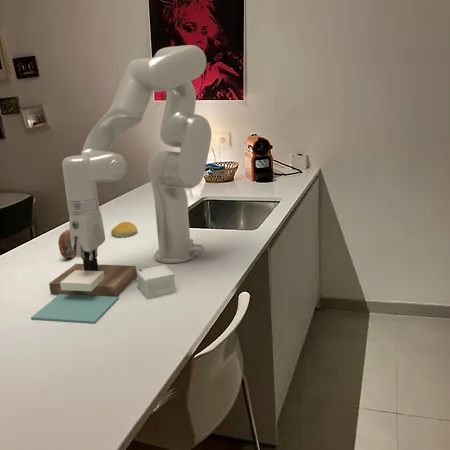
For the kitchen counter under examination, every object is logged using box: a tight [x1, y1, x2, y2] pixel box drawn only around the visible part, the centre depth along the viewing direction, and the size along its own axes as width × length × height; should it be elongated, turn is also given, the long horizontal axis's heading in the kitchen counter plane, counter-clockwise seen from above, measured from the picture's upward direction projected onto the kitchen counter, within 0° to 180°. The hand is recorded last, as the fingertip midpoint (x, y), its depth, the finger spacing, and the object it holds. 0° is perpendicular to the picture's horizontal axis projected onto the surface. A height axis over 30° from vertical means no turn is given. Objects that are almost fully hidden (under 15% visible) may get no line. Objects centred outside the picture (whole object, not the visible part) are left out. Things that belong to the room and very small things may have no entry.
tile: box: [60, 270, 105, 291], centre depth 130 cm, size 8×8×2 cm
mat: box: [31, 294, 119, 324], centre depth 123 cm, size 16×13×1 cm
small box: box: [136, 264, 177, 299], centre depth 131 cm, size 8×8×5 cm
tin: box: [58, 227, 77, 259], centre depth 161 cm, size 15×3×8 cm, turn 168°
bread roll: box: [110, 221, 138, 239], centre depth 179 cm, size 8×9×4 cm
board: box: [48, 263, 137, 297], centre depth 136 cm, size 18×14×3 cm
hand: (91, 272), depth 135 cm, fingers closed
